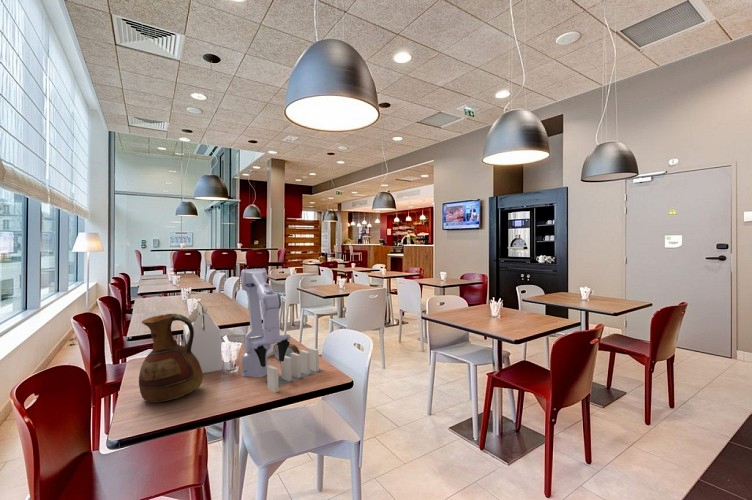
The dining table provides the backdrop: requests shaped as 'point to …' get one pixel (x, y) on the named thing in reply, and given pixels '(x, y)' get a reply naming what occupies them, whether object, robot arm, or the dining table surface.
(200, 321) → the gable box
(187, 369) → the ceramic pitcher
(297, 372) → the domino
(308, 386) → the dining table surface
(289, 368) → the domino
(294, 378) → the mat
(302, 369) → the domino
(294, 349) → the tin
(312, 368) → the domino
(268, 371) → the domino
